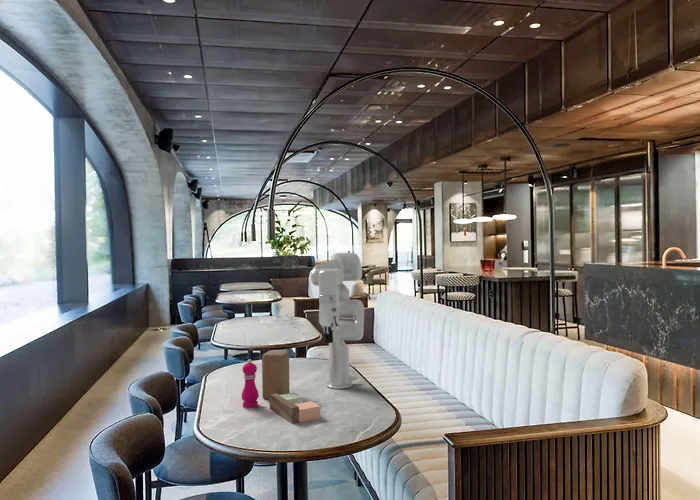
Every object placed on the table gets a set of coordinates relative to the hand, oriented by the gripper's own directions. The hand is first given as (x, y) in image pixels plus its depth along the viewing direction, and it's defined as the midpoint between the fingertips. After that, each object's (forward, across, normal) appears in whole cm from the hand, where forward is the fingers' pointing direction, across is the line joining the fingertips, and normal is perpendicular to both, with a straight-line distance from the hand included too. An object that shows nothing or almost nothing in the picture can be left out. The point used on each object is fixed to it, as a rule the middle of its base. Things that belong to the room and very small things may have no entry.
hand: (328, 342), depth 230 cm
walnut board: (+27, 0, +21) cm, 34 cm away
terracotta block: (+27, -7, +15) cm, 32 cm away
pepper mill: (+27, +19, +28) cm, 43 cm away
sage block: (+27, +8, +15) cm, 32 cm away
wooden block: (+27, +26, +13) cm, 40 cm away
